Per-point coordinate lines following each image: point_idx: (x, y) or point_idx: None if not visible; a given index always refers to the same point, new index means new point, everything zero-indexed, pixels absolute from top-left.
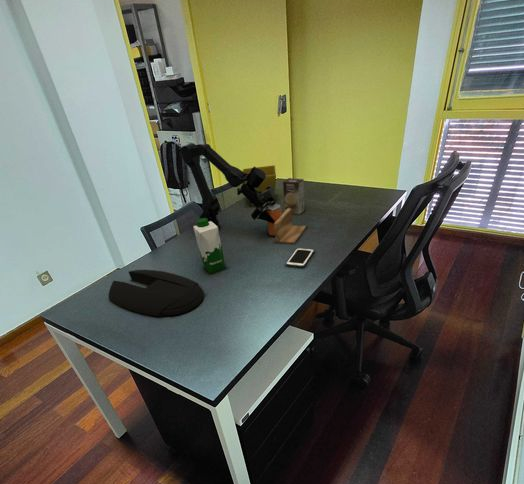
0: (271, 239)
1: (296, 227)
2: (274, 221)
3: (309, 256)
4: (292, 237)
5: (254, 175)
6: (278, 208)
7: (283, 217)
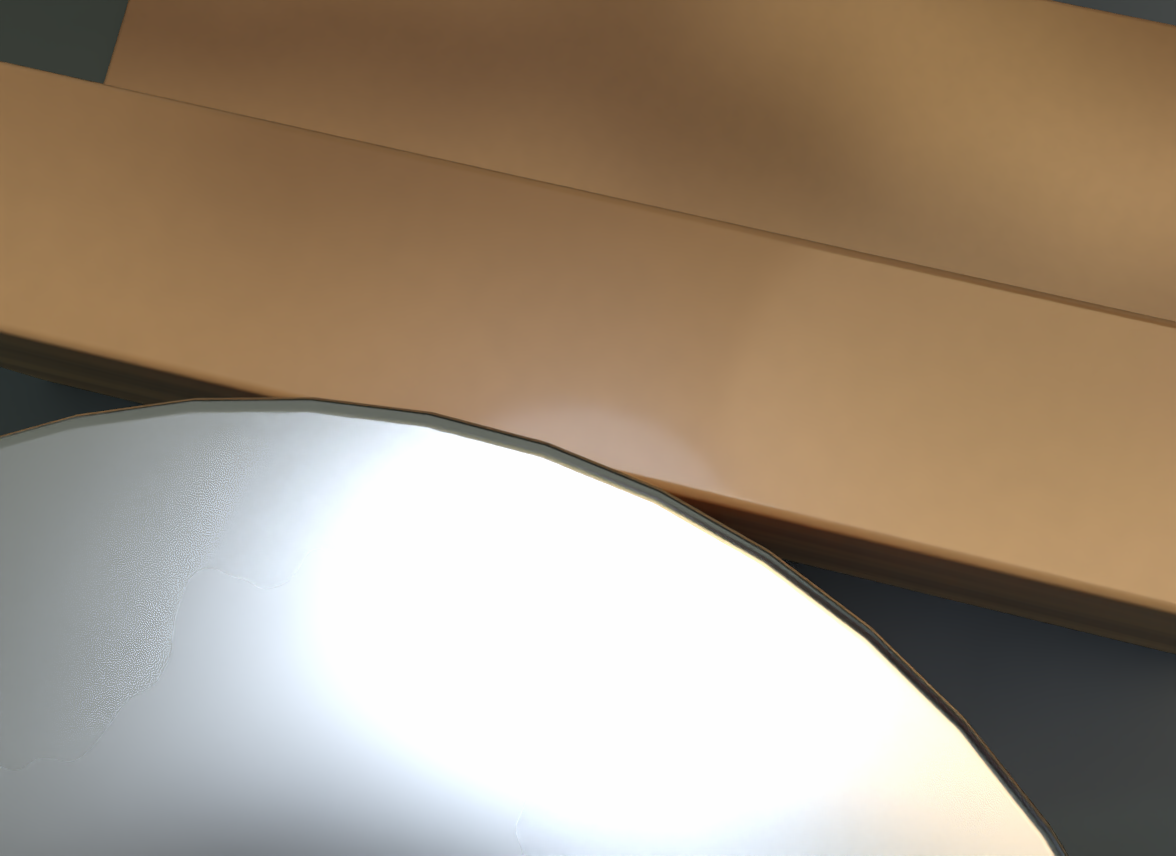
0: None
1: (253, 96)
2: None
3: None
4: (1000, 149)
5: None
6: (805, 588)
7: (920, 266)
